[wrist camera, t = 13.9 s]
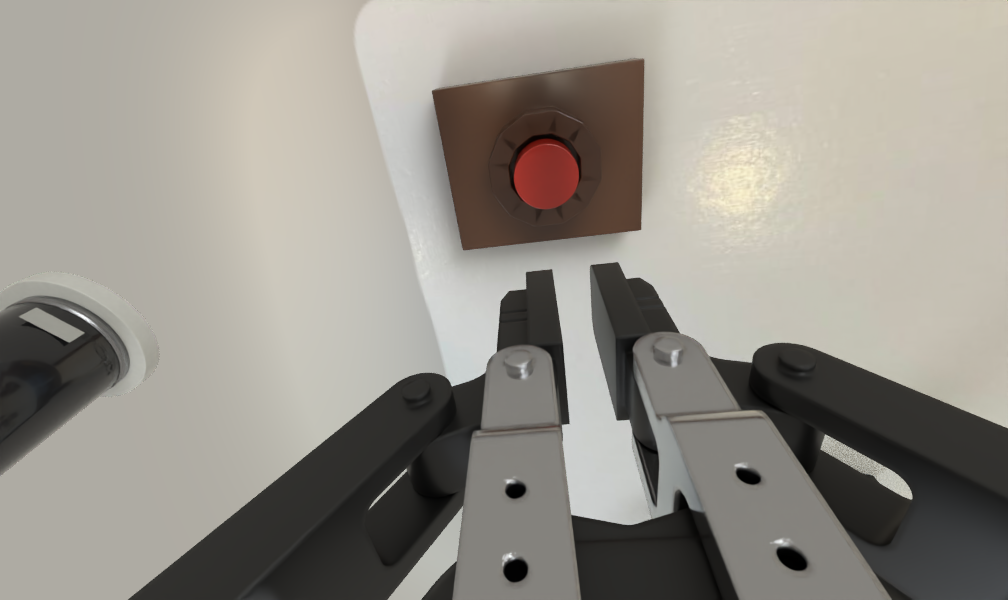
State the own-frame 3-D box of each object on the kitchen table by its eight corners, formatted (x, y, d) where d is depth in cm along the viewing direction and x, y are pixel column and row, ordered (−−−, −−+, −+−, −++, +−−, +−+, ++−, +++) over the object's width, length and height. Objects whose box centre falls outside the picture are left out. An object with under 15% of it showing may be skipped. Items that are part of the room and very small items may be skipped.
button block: (466, 239, 32) (459, 261, 28) (437, 88, 27) (425, 92, 23) (633, 219, 31) (648, 240, 27) (635, 58, 26) (653, 58, 22)
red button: (518, 204, 27) (517, 213, 25) (510, 142, 25) (509, 148, 23) (577, 196, 26) (580, 205, 25) (573, 134, 24) (577, 139, 23)
